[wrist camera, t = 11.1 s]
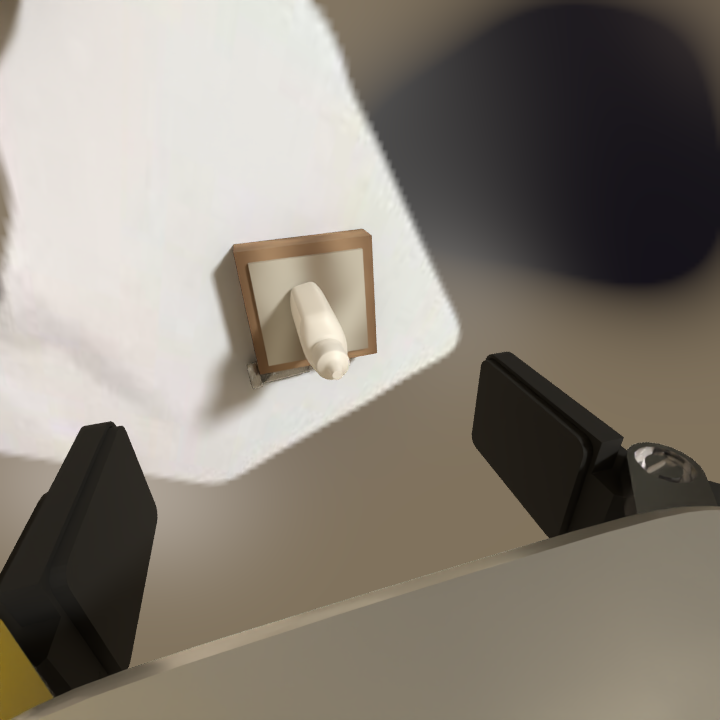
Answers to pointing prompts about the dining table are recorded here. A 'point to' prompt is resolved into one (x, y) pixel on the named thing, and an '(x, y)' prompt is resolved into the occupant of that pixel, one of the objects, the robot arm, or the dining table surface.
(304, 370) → the loose bolt
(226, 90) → the dining table surface
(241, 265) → the picture frame
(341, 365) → the eye dropper bottle
